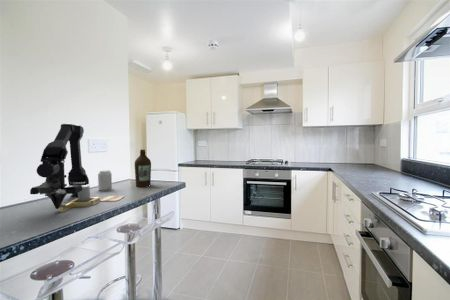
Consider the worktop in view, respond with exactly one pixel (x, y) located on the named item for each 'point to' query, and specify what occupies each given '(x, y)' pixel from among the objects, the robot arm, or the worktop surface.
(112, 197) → the wooden panel
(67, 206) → the yellow l-shaped bracket
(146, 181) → the olive oil
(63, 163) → the robot arm
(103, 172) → the can
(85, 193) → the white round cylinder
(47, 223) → the worktop surface
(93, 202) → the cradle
